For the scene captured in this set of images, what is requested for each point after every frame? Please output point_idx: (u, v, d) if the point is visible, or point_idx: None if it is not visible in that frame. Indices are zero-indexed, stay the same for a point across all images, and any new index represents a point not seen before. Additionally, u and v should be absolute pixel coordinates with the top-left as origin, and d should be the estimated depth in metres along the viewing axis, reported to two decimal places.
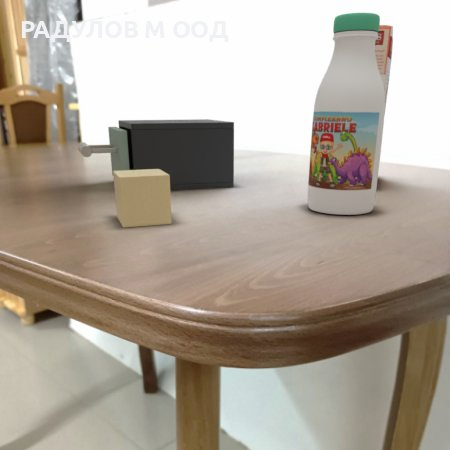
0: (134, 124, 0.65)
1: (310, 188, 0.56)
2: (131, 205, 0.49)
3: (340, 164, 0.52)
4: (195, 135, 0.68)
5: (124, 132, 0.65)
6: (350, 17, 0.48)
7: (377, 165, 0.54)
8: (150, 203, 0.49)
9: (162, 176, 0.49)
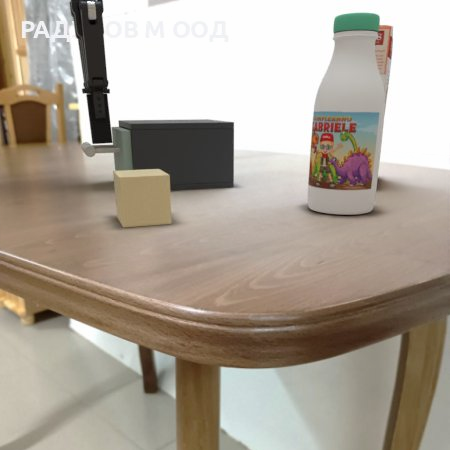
0: (134, 124, 0.65)
1: (310, 188, 0.56)
2: (131, 205, 0.49)
3: (340, 164, 0.52)
4: (195, 135, 0.68)
5: (128, 132, 0.66)
6: (350, 17, 0.48)
7: (377, 165, 0.54)
8: (150, 203, 0.49)
9: (162, 176, 0.49)
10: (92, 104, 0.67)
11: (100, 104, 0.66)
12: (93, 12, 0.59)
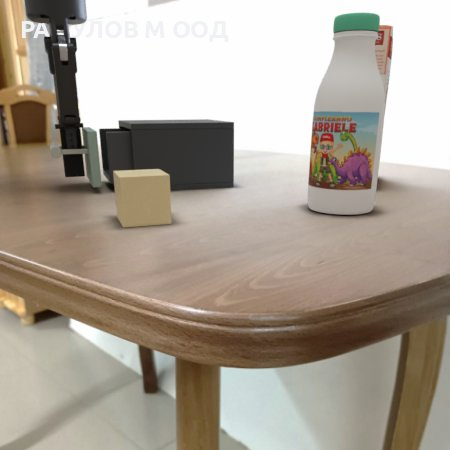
0: (134, 124, 0.65)
1: (310, 188, 0.56)
2: (131, 205, 0.49)
3: (340, 164, 0.52)
4: (195, 135, 0.68)
5: (94, 133, 0.64)
6: (350, 17, 0.48)
7: (377, 165, 0.54)
8: (150, 203, 0.49)
9: (162, 176, 0.49)
10: (65, 139, 0.68)
11: (72, 139, 0.67)
12: (65, 54, 0.60)
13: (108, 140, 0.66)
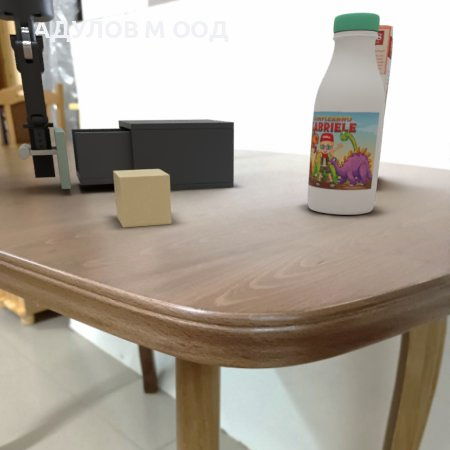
0: (134, 124, 0.65)
1: (310, 188, 0.56)
2: (131, 205, 0.49)
3: (340, 164, 0.52)
4: (195, 135, 0.68)
5: (61, 133, 0.63)
6: (350, 17, 0.48)
7: (377, 165, 0.54)
8: (150, 203, 0.49)
9: (162, 176, 0.49)
10: (34, 139, 0.67)
11: (41, 139, 0.66)
12: (29, 52, 0.58)
13: (77, 141, 0.65)
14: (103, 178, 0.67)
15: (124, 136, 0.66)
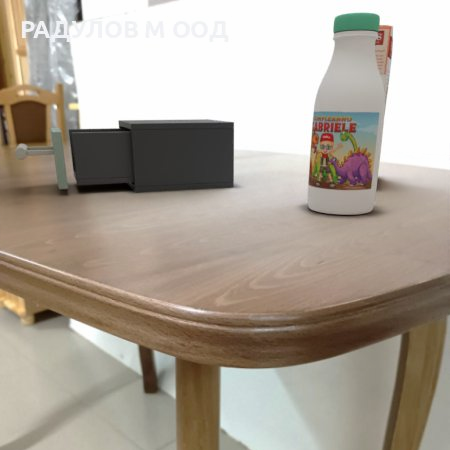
0: (134, 124, 0.65)
1: (310, 188, 0.56)
2: None
3: (340, 164, 0.52)
4: (195, 135, 0.68)
5: (58, 133, 0.63)
6: (350, 17, 0.48)
7: (377, 165, 0.54)
8: None
9: None
10: None
11: None
12: None
13: (74, 141, 0.64)
14: (101, 178, 0.67)
15: (121, 136, 0.66)
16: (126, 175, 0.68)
